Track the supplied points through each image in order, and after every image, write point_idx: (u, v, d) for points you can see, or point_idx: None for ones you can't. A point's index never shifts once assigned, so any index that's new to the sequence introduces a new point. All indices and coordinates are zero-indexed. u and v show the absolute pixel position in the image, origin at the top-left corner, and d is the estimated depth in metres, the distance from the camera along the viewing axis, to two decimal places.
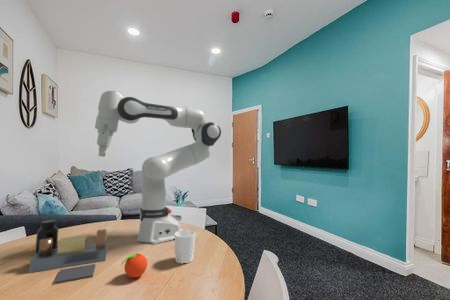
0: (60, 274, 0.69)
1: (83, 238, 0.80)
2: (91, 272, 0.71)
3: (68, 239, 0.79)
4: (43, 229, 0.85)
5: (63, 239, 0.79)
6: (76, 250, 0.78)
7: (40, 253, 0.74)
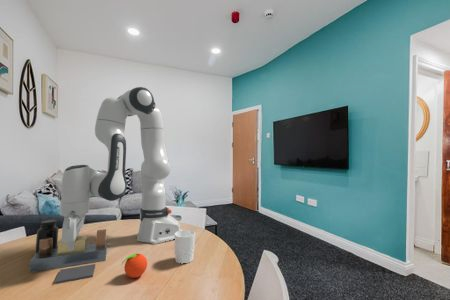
0: (60, 274, 0.69)
1: (83, 238, 0.80)
2: (91, 272, 0.71)
3: None
4: (43, 229, 0.85)
5: None
6: (76, 250, 0.78)
7: (40, 253, 0.74)
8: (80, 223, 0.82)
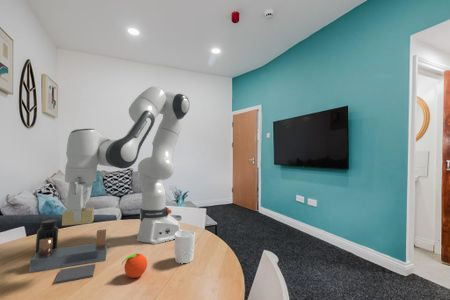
0: (60, 274, 0.69)
1: (90, 209, 0.72)
2: (91, 272, 0.71)
3: None
4: (43, 229, 0.85)
5: (68, 210, 0.71)
6: (82, 221, 0.70)
7: (40, 253, 0.74)
8: (87, 193, 0.74)
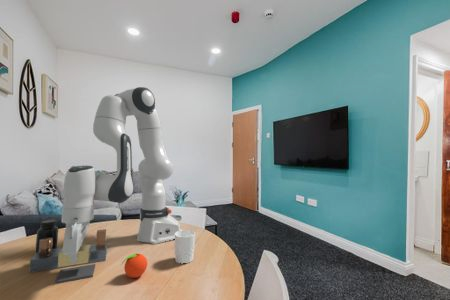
0: (60, 274, 0.69)
1: (87, 248, 0.72)
2: (91, 272, 0.71)
3: None
4: (43, 229, 0.85)
5: None
6: (79, 262, 0.69)
7: (40, 253, 0.74)
8: (84, 231, 0.73)
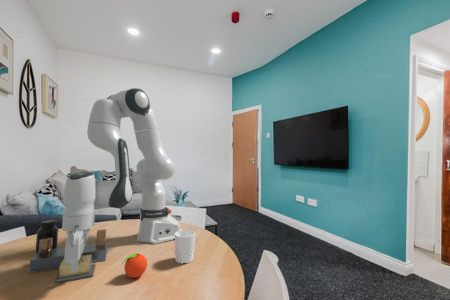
0: None
1: (88, 258, 0.72)
2: (91, 272, 0.71)
3: None
4: (43, 229, 0.85)
5: None
6: (80, 273, 0.69)
7: (40, 253, 0.74)
8: (85, 238, 0.73)
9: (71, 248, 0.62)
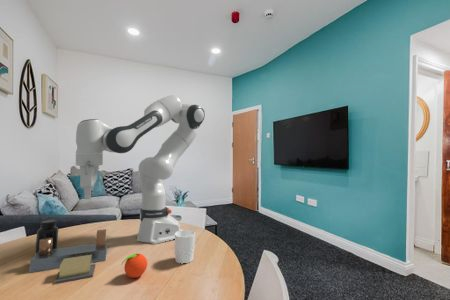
0: None
1: (88, 258, 0.72)
2: (91, 272, 0.71)
3: (71, 260, 0.70)
4: (43, 229, 0.85)
5: (65, 260, 0.70)
6: (80, 273, 0.69)
7: (40, 253, 0.74)
8: None
9: (85, 175, 0.74)
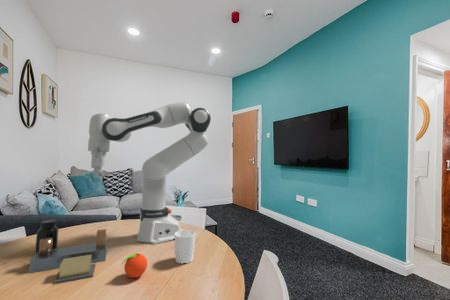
0: None
1: (88, 258, 0.72)
2: (91, 272, 0.71)
3: (71, 260, 0.70)
4: (43, 229, 0.85)
5: (65, 260, 0.70)
6: (80, 273, 0.69)
7: (40, 253, 0.74)
8: None
9: (95, 158, 0.94)
